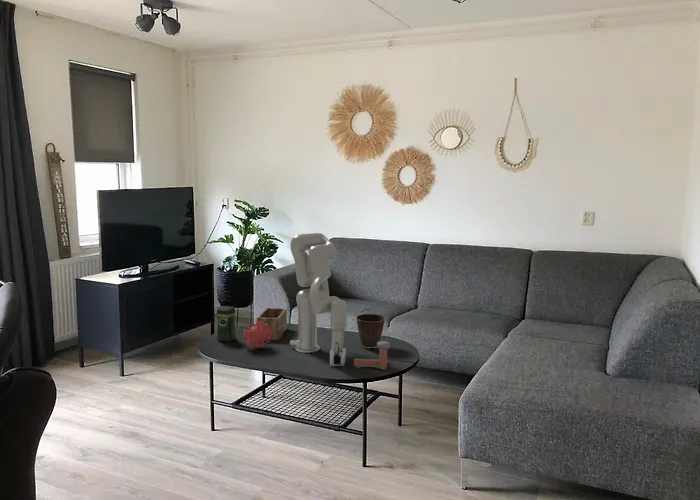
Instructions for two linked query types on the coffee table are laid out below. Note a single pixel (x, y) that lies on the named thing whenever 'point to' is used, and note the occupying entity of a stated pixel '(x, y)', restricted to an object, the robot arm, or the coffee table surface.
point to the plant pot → (370, 328)
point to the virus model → (257, 334)
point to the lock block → (342, 357)
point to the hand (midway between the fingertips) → (337, 360)
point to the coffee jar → (226, 323)
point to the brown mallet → (376, 362)
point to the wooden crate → (274, 321)
